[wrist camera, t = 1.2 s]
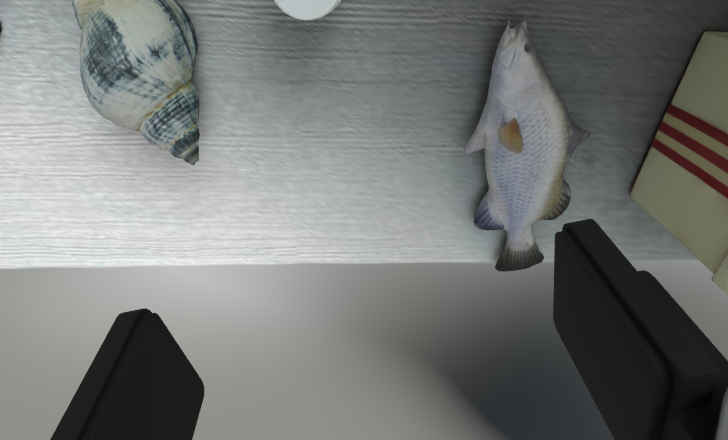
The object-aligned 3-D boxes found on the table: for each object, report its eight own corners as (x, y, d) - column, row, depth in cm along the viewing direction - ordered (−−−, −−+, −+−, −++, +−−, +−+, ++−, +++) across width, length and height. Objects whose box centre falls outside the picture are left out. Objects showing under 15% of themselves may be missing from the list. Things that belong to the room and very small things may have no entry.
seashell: (185, -29, 32) (198, 133, 39) (59, -38, 29) (96, 140, 35) (204, -14, 28) (215, 166, 34) (57, -24, 24) (100, 178, 31)
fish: (467, 257, 47) (569, 248, 46) (472, 286, 44) (582, 277, 42) (453, 19, 33) (599, -5, 32) (459, 36, 30) (621, 10, 29)
